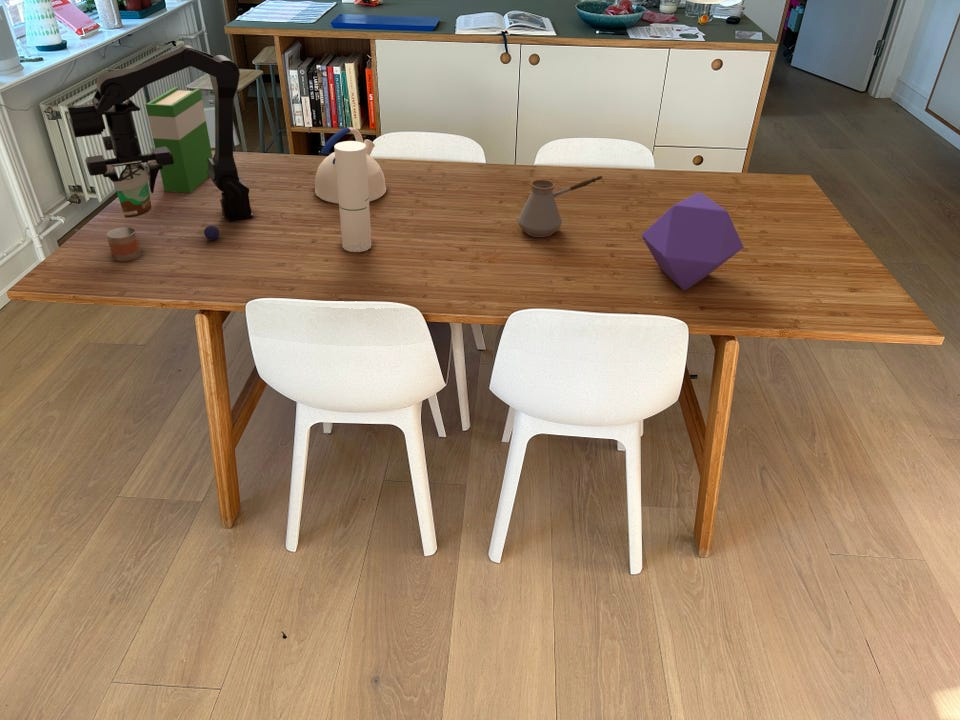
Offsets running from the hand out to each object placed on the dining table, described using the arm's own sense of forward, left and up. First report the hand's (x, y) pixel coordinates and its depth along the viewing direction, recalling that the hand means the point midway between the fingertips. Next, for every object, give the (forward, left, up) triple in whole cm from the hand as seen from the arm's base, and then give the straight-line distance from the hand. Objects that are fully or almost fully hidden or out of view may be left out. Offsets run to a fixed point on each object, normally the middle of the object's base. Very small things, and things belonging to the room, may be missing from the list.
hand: (138, 194), depth 181 cm
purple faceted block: (-106, +81, -10) cm, 134 cm away
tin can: (+7, +12, -10) cm, 17 cm away
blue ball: (-13, +12, -10) cm, 20 cm away
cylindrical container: (-44, +31, -10) cm, 55 cm away
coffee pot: (-94, +46, -10) cm, 105 cm away
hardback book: (-17, -31, -10) cm, 36 cm away
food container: (0, +1, -3) cm, 4 cm away
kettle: (-56, -3, -10) cm, 57 cm away
